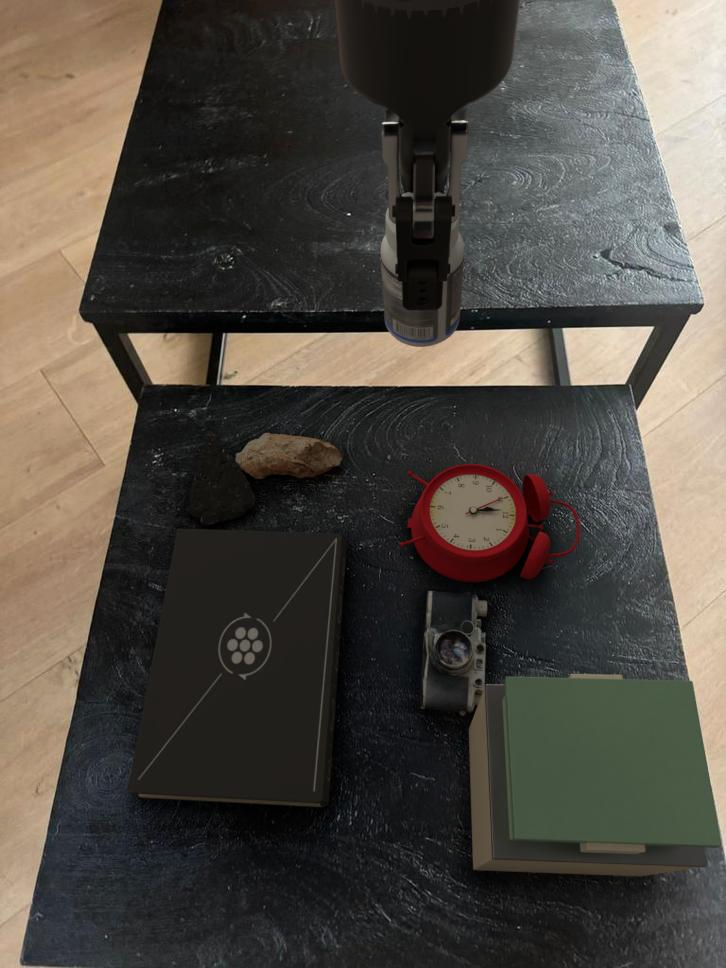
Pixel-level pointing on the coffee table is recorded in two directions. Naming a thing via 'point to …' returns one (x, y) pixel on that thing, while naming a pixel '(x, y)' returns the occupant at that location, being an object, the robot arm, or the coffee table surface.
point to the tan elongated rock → (287, 456)
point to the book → (244, 670)
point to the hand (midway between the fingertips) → (422, 269)
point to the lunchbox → (606, 763)
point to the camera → (453, 652)
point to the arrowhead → (218, 486)
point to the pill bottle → (421, 324)
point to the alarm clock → (481, 523)
